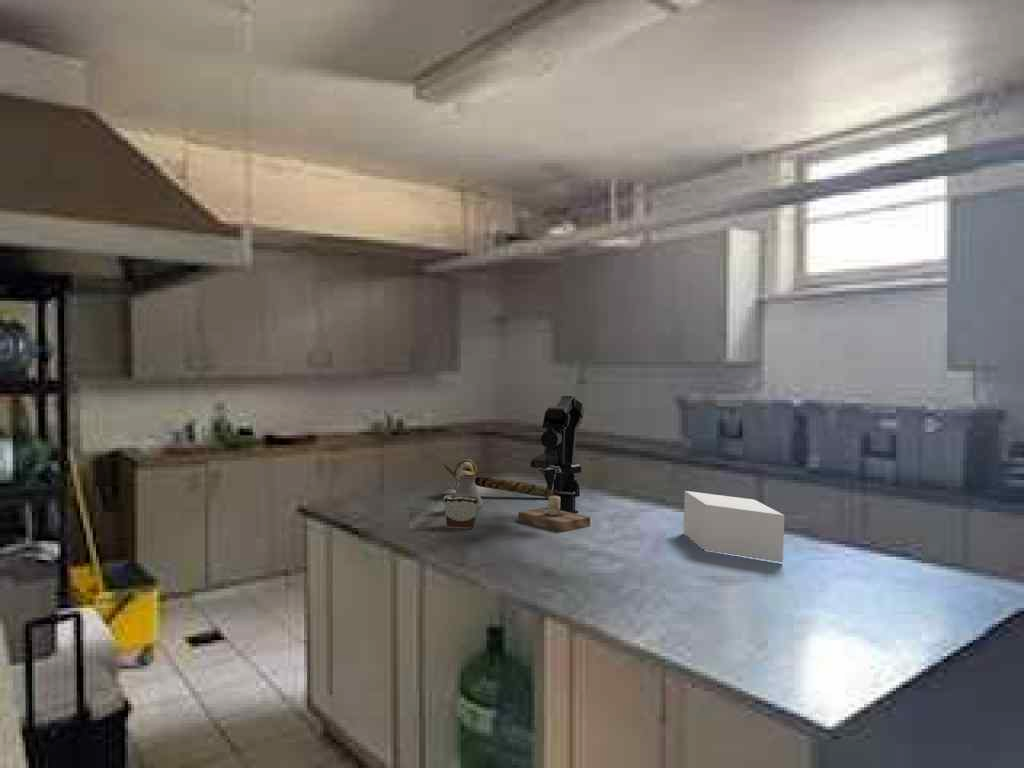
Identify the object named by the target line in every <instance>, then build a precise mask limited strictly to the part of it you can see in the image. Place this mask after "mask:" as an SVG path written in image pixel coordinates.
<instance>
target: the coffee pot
mask: <svg viewBox="0 0 1024 768" xmlns="http://www.w3.org/2000/svg"><path fill="white" fill-rule="evenodd" d="M443 467H444V469H443ZM441 469H442V470H447V471H448V472H449V474H451V475H453V476H454V477H455V478H456V479H457V480H458V481H459V482H460V484H459V486H458V489H457V491H456V490H455V493H454V494H466V495H474V496H477V497H478V499H479V502H480V505H479V503H478V507H477V513H478V511H480V510H481V509H482V507H483V506H484V502H483V501H482V497H481V495H480V493H479V489H478V487H477V485H476V484H475V478H476V477H477V476H476V475H460V476H459V478H460V479H459V478H458V477H457V475H456V474H455V473H454V470H452V469H451V468H450V467H449V466H448V465H446V464H444V465H443V466H442V467H441ZM453 476H452V477H453ZM455 478H454V479H455Z"/></svg>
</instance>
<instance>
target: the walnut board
mask: <svg viewBox="0 0 1024 768" xmlns="http://www.w3.org/2000/svg"><path fill="white" fill-rule="evenodd" d="M517 520H518V522H521V523H525V524H529V525H533V526H536V527H539V528H540V527H541V528H544V529H548V530H552V531H556V532H559V533H563V532H569V531H573V530H578V529H582V528H587V527H591V517H590V516H586V515H581V514H578V513H570V512H565V511H561V510H560V516H558V517H552V516H548V506H547V507H541V508H535V509H531V510H524V511H519V512H518V519H517Z"/></svg>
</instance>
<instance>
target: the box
mask: <svg viewBox="0 0 1024 768" xmlns="http://www.w3.org/2000/svg"><path fill="white" fill-rule="evenodd" d="M683 502H684V503H683V527H682V528H683V529H682V530H683V533H684V534H686V535H687V536H688V537H689V538H690V539H692V540H693V541H694V542H695V543H697V544H698V545H699V546H700V547H702V548H703V549H704V550H708V551H713V552H721V553H727V554H733V555H740V556H746V557H752V558H759V559H765V560H771V561H778V562H783V563H784V561H783V560H784V540H785V538H784V535H785V514H783V513H781V512H779V511H778V510H775V509H773V508H771V507H769V506H767V505H765V504H764V503H762V502H760V501H758V500H756V499H753V498H746V497H745V498H744V497H739V496H738V497H736V496H730V495H729V496H728V495H723V494H722V495H721V494H713V493H705V492H696V491H689V490H688V491H687V490H684V501H683ZM684 534H683V535H684ZM686 535H685V536H686ZM687 536H686V537H687ZM688 537H687V538H688ZM689 538H688V539H689ZM690 539H689V540H690ZM692 540H691V541H692ZM693 541H692V542H693ZM694 542H693V543H694ZM695 543H694V544H695ZM699 546H698V547H699ZM700 547H699V548H700Z"/></svg>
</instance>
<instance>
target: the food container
mask: <svg viewBox="0 0 1024 768" xmlns="http://www.w3.org/2000/svg"><path fill="white" fill-rule="evenodd" d="M441 502H442V504H443V505H444V516H445V528H450V529H451V528H453V529H469V528H472V529H476V520H477V515H478V514H477V513H478V512H477V507H478V503H479V505H480V502H479V499H478V497H477V496H474V495H466V494H455V493H454V494H447V495H445V496H443V498H442V501H441Z"/></svg>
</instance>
